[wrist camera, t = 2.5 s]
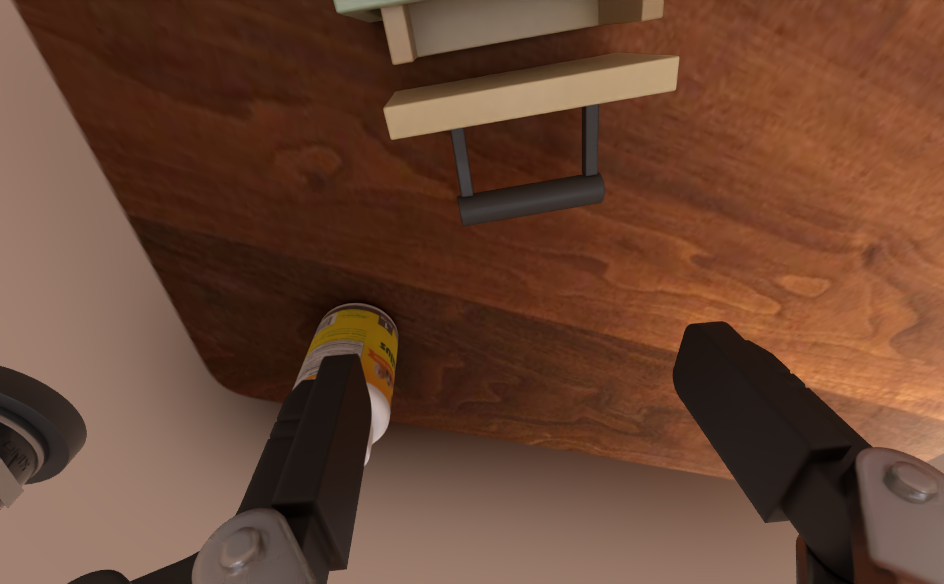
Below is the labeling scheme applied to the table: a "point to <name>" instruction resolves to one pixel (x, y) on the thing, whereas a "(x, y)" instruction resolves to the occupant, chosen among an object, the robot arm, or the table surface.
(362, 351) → the supplement bottle
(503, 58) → the table surface
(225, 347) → the table surface
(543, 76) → the drawer
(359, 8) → the cabinet
